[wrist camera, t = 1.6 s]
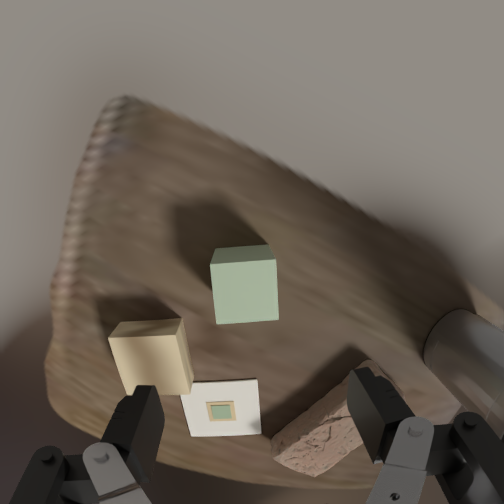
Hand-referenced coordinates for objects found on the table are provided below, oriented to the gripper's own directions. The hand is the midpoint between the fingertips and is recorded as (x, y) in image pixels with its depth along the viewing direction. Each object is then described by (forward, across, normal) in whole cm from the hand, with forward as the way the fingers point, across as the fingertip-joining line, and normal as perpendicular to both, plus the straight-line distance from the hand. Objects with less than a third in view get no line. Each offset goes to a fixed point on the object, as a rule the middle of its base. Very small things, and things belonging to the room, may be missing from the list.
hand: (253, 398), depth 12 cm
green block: (+19, 0, 0) cm, 19 cm away
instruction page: (+19, +4, +17) cm, 25 cm away
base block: (+19, +10, +8) cm, 23 cm away
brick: (+19, -10, +20) cm, 30 cm away
